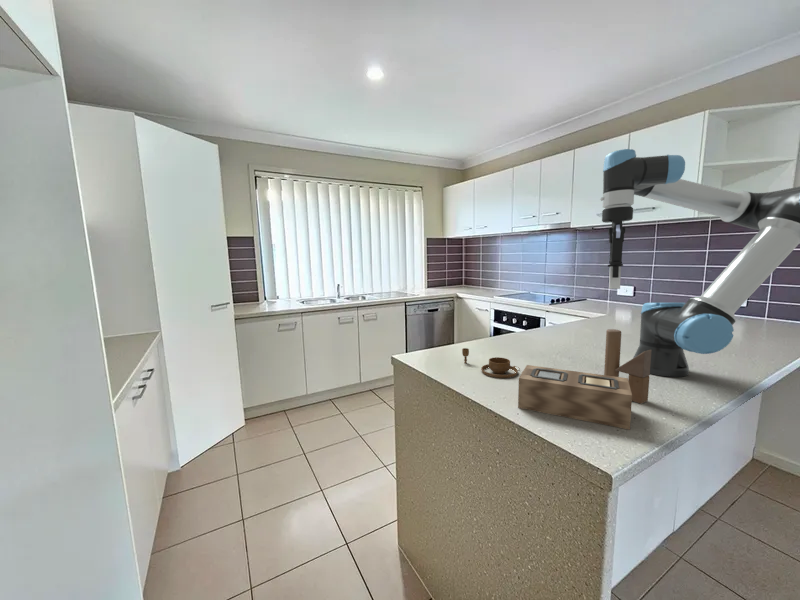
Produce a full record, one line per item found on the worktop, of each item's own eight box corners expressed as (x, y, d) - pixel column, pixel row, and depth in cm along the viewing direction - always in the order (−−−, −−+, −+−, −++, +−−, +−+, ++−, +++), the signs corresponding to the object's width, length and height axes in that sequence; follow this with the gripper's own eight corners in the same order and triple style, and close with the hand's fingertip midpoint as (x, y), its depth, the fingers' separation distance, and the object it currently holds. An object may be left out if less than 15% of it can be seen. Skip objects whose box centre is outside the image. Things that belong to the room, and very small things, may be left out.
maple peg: (607, 407, 84) (609, 380, 83) (608, 415, 79) (610, 387, 78) (585, 403, 86) (586, 377, 85) (584, 411, 82) (585, 383, 81)
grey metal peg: (559, 398, 89) (560, 373, 88) (557, 406, 85) (558, 379, 84) (539, 395, 92) (540, 370, 91) (536, 402, 87) (537, 376, 86)
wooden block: (641, 404, 87) (645, 337, 85) (599, 390, 96) (602, 329, 94) (648, 401, 89) (653, 335, 86) (607, 388, 98) (610, 328, 96)
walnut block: (625, 408, 85) (627, 377, 84) (629, 429, 74) (632, 394, 73) (526, 391, 97) (526, 364, 96) (518, 407, 86) (518, 377, 85)
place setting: (482, 382, 106) (482, 364, 105) (459, 363, 126) (459, 348, 125) (531, 377, 109) (532, 360, 109) (502, 360, 129) (502, 345, 128)
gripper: (601, 211, 104) (599, 286, 107) (603, 206, 93) (600, 290, 95) (630, 208, 100) (627, 286, 103) (636, 203, 89) (632, 290, 92)
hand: (614, 288), depth 99 cm, fingers closed
